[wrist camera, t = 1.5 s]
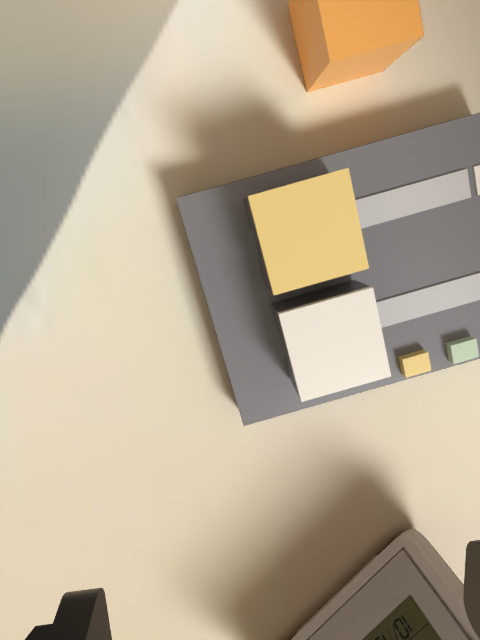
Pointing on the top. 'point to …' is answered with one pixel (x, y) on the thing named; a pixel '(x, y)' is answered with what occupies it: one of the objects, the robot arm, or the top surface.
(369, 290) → the block
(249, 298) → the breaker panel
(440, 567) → the digital clock
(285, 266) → the block
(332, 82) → the orange rectangular block
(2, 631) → the top surface
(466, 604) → the robot arm
